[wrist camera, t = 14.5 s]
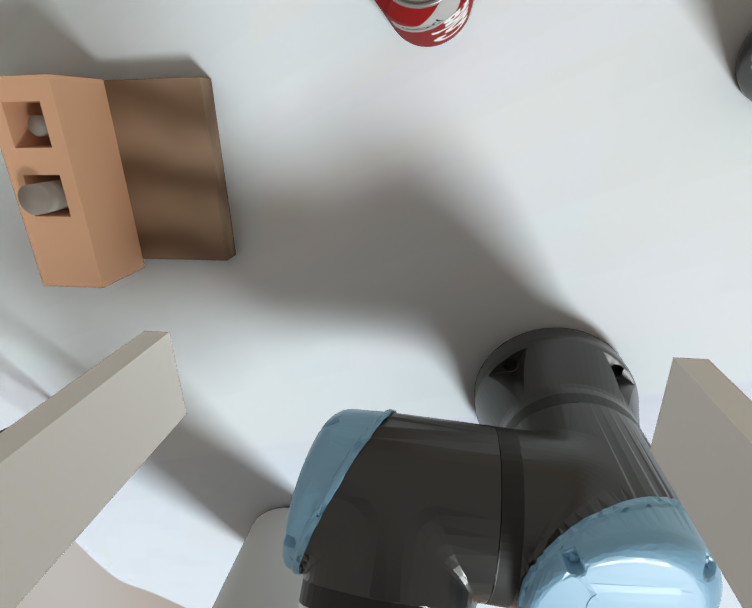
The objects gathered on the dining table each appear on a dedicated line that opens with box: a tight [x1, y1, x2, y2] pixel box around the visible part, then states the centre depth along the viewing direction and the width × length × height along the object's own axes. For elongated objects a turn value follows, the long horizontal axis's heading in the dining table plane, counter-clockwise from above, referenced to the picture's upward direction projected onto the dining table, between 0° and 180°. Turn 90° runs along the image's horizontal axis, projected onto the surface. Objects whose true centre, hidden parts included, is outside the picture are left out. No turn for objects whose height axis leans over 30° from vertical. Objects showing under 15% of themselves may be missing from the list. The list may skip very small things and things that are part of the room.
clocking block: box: [0, 74, 145, 288], centre depth 41 cm, size 17×6×6 cm, turn 1°
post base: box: [18, 77, 236, 261], centre depth 41 cm, size 16×20×10 cm
